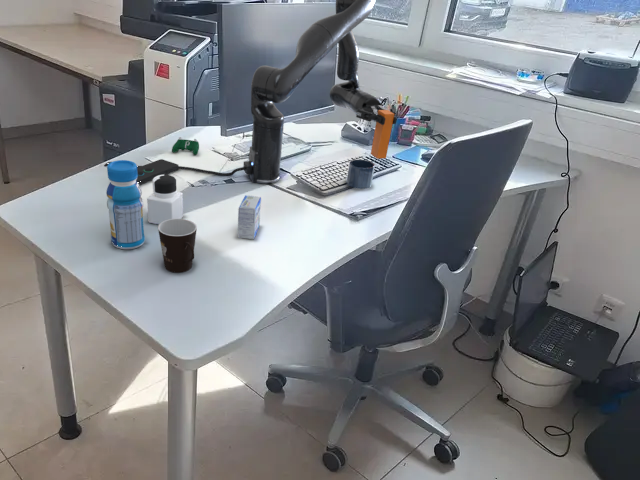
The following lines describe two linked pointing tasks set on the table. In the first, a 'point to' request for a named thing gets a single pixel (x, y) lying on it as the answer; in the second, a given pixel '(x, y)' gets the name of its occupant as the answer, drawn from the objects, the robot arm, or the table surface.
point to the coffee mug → (177, 244)
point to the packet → (382, 135)
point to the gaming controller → (186, 145)
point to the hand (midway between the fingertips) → (389, 121)
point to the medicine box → (249, 217)
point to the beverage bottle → (125, 205)
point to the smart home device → (155, 170)
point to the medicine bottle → (164, 200)
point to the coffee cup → (360, 174)
